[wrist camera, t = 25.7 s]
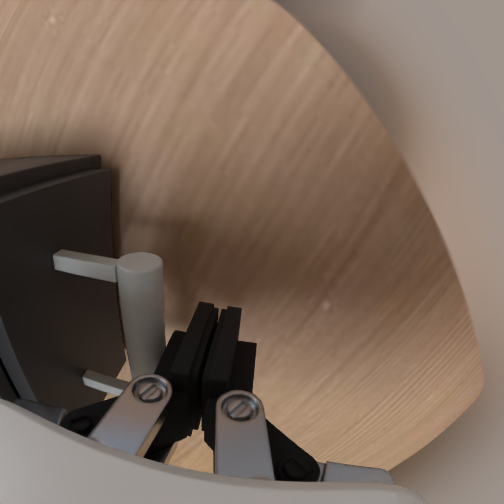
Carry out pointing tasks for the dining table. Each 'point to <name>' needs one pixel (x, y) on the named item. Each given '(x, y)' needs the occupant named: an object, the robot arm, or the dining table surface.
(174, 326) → the dining table surface
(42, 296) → the dark grey drawer
